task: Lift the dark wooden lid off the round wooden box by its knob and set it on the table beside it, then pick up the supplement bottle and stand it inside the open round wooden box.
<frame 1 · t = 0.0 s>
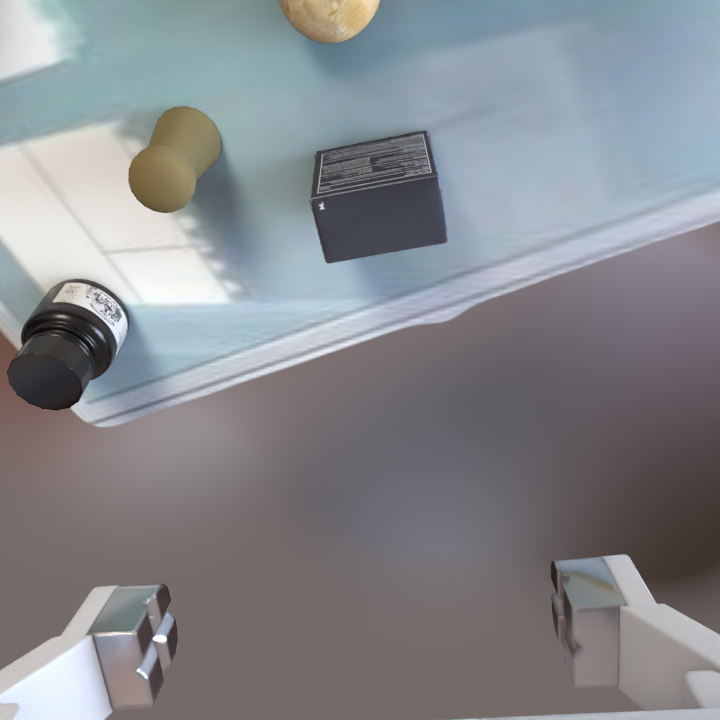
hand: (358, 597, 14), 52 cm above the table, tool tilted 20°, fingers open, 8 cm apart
ink bottle: (89, 312, 72), on the table
small box: (377, 172, 62), on the table
tan pawn: (188, 139, 61), on the table
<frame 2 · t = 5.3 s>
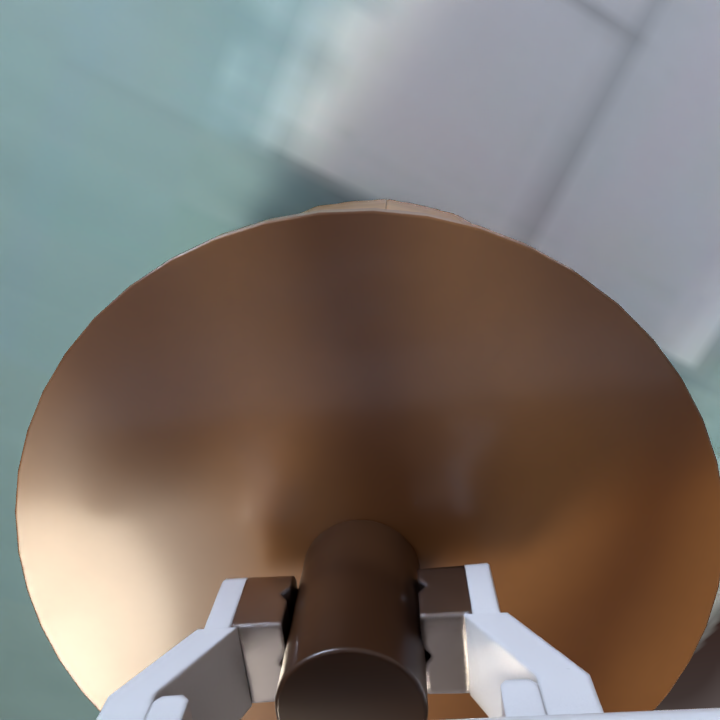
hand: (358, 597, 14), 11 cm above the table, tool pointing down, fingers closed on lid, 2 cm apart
lid: (362, 553, 16), point 10 cm above the table, touching round wooden box, gripper
round wooden box: (373, 403, 25), on the table
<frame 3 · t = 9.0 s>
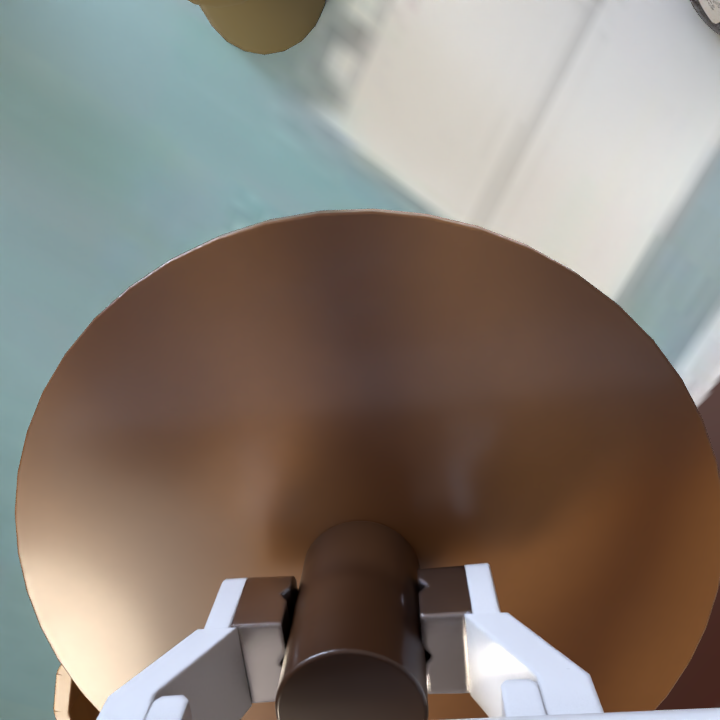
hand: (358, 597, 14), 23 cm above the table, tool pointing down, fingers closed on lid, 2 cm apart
lid: (362, 554, 16), point 21 cm above the table, touching gripper
round wooden box: (245, 595, 41), on the table
when the fingers open (2 cm above the table, at t = 12.9 s): lid stays where it is, point 1 cm above the table.
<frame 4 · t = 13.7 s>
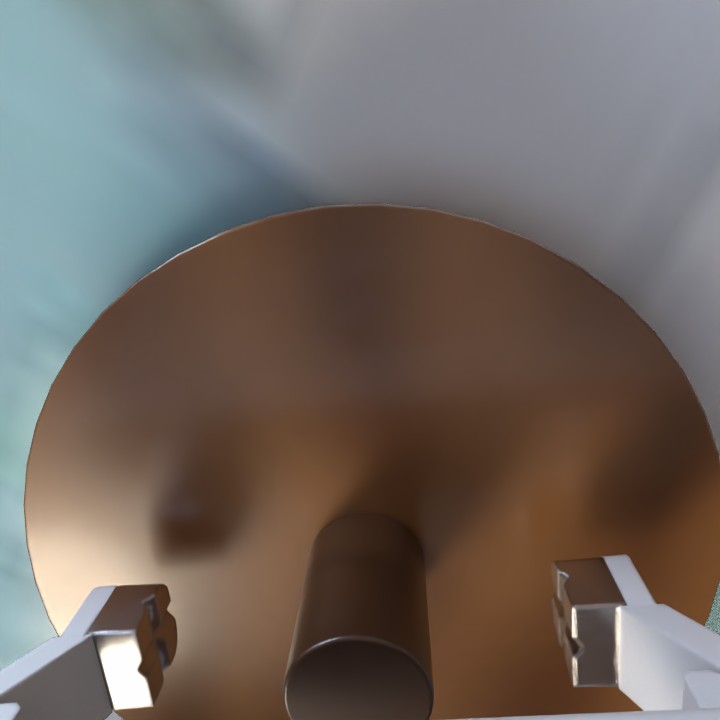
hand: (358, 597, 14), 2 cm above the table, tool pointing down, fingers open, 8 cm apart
lid: (367, 546, 16), point 1 cm above the table
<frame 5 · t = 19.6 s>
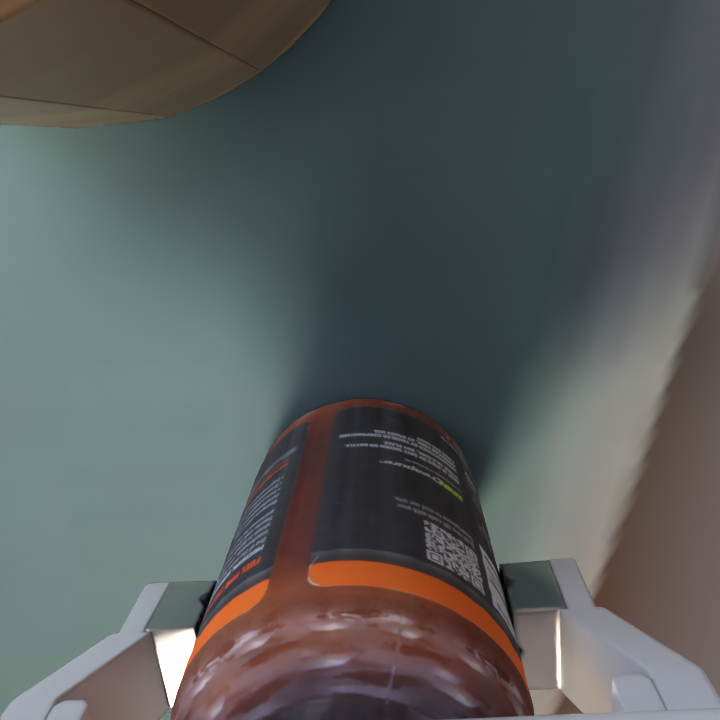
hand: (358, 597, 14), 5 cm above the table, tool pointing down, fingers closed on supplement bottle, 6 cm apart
supplement bottle: (367, 487, 19), on the table, touching gripper
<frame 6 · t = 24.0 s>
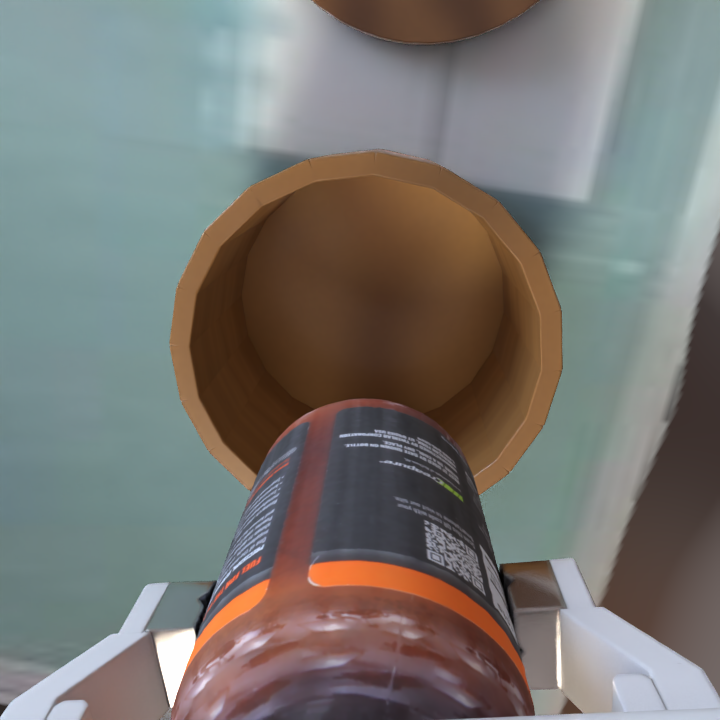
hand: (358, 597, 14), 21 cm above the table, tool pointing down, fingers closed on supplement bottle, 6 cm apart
supplement bottle: (367, 487, 19), point 17 cm above the table, touching gripper
round wooden box: (372, 300, 34), on the table
when the fingers open (6 cm above the table, at t = 28.9 s): supplement bottle stays where it is, resting on round wooden box.
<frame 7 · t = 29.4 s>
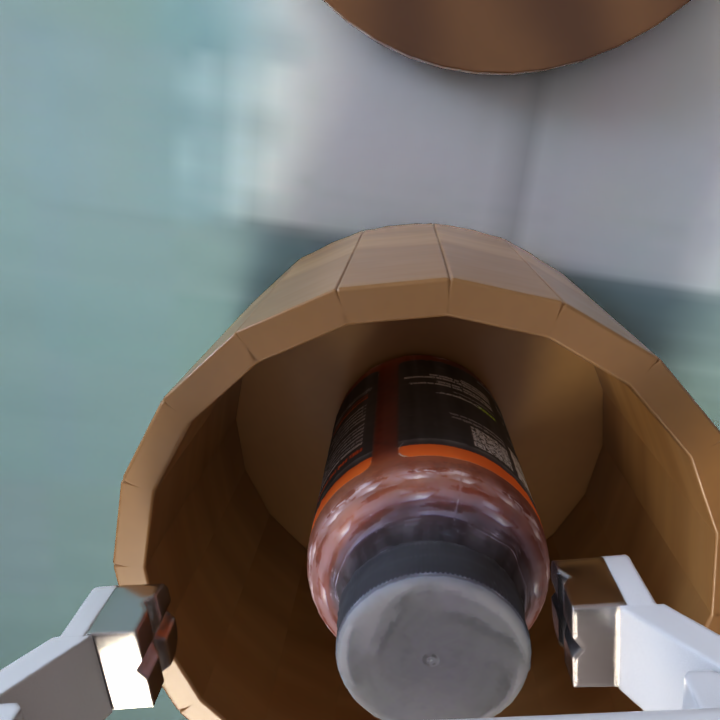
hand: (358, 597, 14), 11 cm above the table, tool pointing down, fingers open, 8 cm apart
supplement bottle: (418, 425, 24), resting on round wooden box
round wooden box: (416, 424, 25), on the table
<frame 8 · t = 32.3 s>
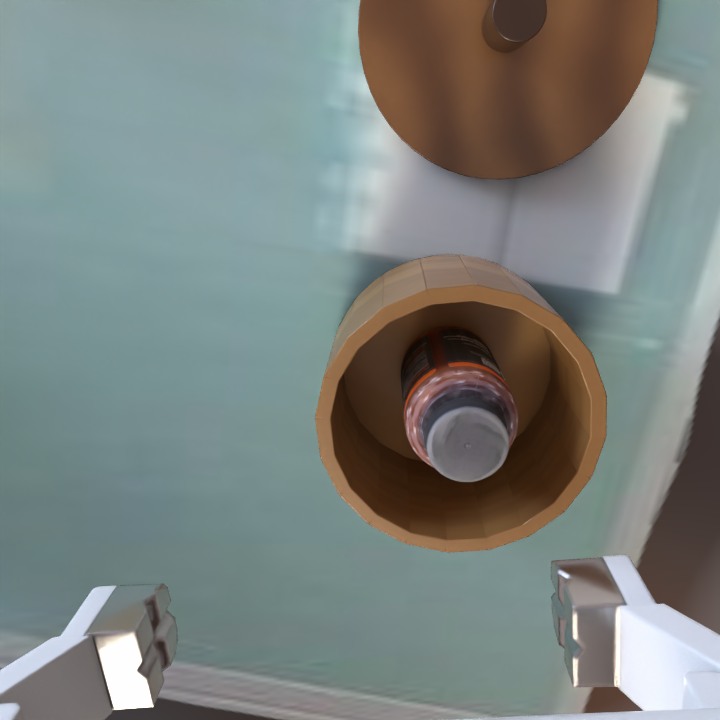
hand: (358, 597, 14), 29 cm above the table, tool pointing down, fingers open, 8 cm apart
lid: (504, 28, 36), point 1 cm above the table
supplement bottle: (447, 368, 43), resting on round wooden box
round wooden box: (445, 367, 43), on the table
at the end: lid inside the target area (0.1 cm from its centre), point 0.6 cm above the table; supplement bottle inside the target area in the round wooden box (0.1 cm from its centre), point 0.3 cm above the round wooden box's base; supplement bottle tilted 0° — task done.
